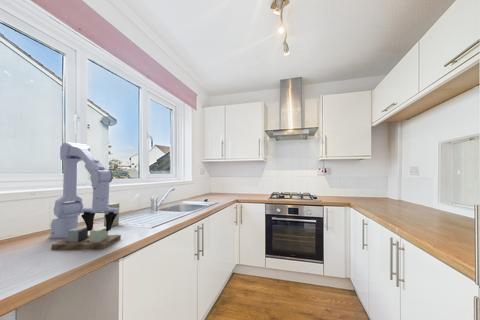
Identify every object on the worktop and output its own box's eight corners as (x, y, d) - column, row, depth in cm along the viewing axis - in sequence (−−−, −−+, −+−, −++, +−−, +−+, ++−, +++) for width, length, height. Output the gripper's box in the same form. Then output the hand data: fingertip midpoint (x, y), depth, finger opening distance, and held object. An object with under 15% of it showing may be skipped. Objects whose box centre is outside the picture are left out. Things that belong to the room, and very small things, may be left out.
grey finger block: (67, 246, 83) (68, 230, 83) (78, 241, 89) (79, 226, 89) (77, 246, 83) (78, 230, 83) (88, 241, 89) (88, 226, 89)
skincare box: (110, 227, 112) (111, 204, 113) (103, 226, 113) (104, 204, 114) (119, 224, 118) (119, 202, 119) (112, 223, 119) (113, 202, 120)
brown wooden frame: (51, 249, 80) (51, 244, 80) (75, 239, 92) (75, 234, 92) (103, 249, 80) (104, 244, 80) (120, 239, 92) (120, 234, 92)
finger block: (88, 247, 83) (89, 230, 83) (98, 242, 89) (99, 226, 89) (98, 247, 83) (99, 230, 83) (107, 241, 89) (108, 226, 89)
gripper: (76, 199, 83) (74, 233, 82) (112, 199, 83) (111, 233, 83) (88, 196, 90) (86, 228, 89) (122, 197, 90) (120, 228, 90)
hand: (99, 230), depth 86 cm, fingers open, 7 cm apart
